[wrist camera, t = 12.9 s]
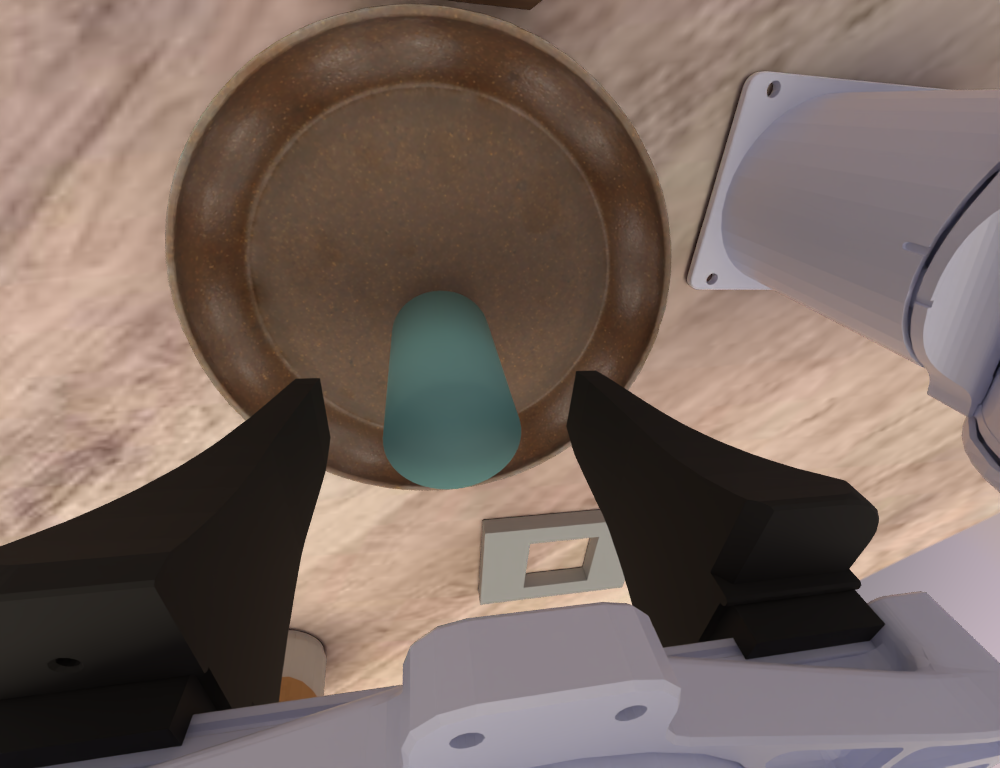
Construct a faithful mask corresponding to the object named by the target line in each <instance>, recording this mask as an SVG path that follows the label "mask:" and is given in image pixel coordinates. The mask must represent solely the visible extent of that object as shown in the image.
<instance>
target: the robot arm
mask: <svg viewBox="0 0 1000 768" xmlns="http://www.w3.org/2000/svg"><path fill="white" fill-rule="evenodd" d="M770 83H773V91H772V93H771V95H769V96H768V95H767V88H768V86H769V84H770ZM710 274H713V276H712V278H711V279H710V280H709V281H707V282H706V280H707V278H708V276H709V275H710ZM687 282H688V285H690V286H691V287H692V288H694V289H697V290H775V291H777V292H779V293H781V294H782V295H784V296H786V297H788V298H790V299H792V300H794V301H796V302H798V303H800V304H802V305H804V306H806V307H808V308H809V309H811V310H813V311H815V312H817V313H819V314H821V315H823V316H825V317H827V318H829V319H831V320H833V321H835V322H836V323H838V324H840V325H842V326H844V327H846V328H848V329H850V330H852V331H854V332H856V333H858V334H860V335H862V336H863V337H865V338H867V339H869V340H871V341H873V342H875V343H877V344H879V345H881V346H883V347H885V348H887V349H889V350H890V351H892V352H894V353H896V354H898V355H900V356H902V357H904V358H906V359H908V360H910V361H912V362H914V363H916V364H917V365H919V366H921V367H924V368H926V370H927V371H928V373H929V377H930V383H929V387H928V391H927V394H928V395H930V396H931V397H933V398H935V399H937V400H938V401H940V402H942V403H944V404H945V405H947V406H949V407H951V408H953V409H954V410H956V411H958V412H960V413H961V414H963V415H965V416H966V418H965V421H964V423H963V429H962V441H963V445H964V449H965V452H966V454H967V455H968V457H969V459H970V461H971V463H972V464H973V466H974V467H975V468H976V469H977V471H978V472H979V473H980V474H981V475H982V477H983V478H984V479H985V480H986V481H987V482H988V483H990V484H991V485H992V486H993V487H994V488H995V489H996V490H997V491H998V492H1000V89H977V90H949V89H939V88H929V87H919V86H909V85H899V84H889V83H879V82H869V81H859V80H849V79H839V78H829V77H819V76H810V75H800V74H790V73H780V72H770V71H762V72H755V73H754V74H752V75H750V76H749V78H748V79H747V80H746V82H745V84H744V86H743V89H742V92H741V96H740V99H739V102H738V106H737V109H736V113H735V116H734V120H733V123H732V126H731V130H730V133H729V137H728V140H727V143H726V147H725V150H724V154H723V157H722V160H721V164H720V167H719V171H718V174H717V177H716V181H715V184H714V188H713V191H712V194H711V198H710V201H709V205H708V208H707V211H706V215H705V218H704V222H703V225H702V228H701V232H700V235H699V239H698V242H697V245H696V249H695V252H694V256H693V259H692V262H691V266H690V269H689V273H688V276H687ZM566 427H567V431H568V434H569V438H570V441H571V445H572V448H573V451H574V454H575V456H576V459H577V461H578V463H579V465H580V468H581V470H582V472H583V474H584V476H585V478H586V480H587V483H588V485H589V487H590V489H591V491H592V493H593V495H594V497H595V500H596V502H597V504H598V506H599V508H600V510H601V512H602V514H603V517H604V519H605V522H606V524H607V527H608V529H609V532H610V535H611V538H612V541H613V544H614V547H615V550H616V553H617V556H618V559H619V562H620V565H621V568H622V572H623V575H624V578H625V581H626V584H627V588H628V591H629V595H630V598H631V602H632V605H633V606H632V605H630V604H627V603H609V602H599V603H591V604H583V605H574V606H566V607H558V608H549V609H541V610H533V611H525V612H516V613H508V614H500V615H491V616H483V617H475V618H467V619H463V620H459V621H456V622H452V623H448V624H445V625H441V626H437V627H436V628H434V629H433V630H431V631H430V632H428V633H427V634H425V635H424V636H423V637H421V638H420V639H418V640H417V641H416V642H414V643H413V644H412V645H411V646H410V649H409V651H408V653H407V656H406V658H405V661H404V663H403V685H397V686H390V687H383V688H376V689H369V690H362V691H355V692H348V693H341V694H334V695H327V696H320V697H313V698H306V699H299V700H292V701H285V702H279V698H280V690H281V681H282V673H283V666H284V659H285V652H286V645H287V638H288V631H289V625H290V618H291V612H292V606H293V600H294V594H295V588H296V582H297V577H298V571H299V566H300V560H301V555H302V551H303V547H304V543H305V539H306V536H307V532H308V529H309V525H310V522H311V519H312V515H313V512H314V509H315V505H316V502H317V499H318V495H319V492H320V489H321V485H322V482H323V478H324V475H325V471H326V466H327V460H328V453H329V446H330V439H331V437H330V432H329V426H328V420H327V415H326V409H325V404H324V398H323V392H322V387H321V381H320V378H300V379H295V380H294V381H292V382H291V383H290V384H289V385H287V386H286V387H285V388H284V389H283V390H282V391H280V392H279V393H278V394H277V395H276V396H275V397H274V398H272V399H271V400H270V401H269V402H268V403H267V404H265V405H264V406H263V407H262V408H261V409H259V410H258V411H257V412H256V413H255V414H254V415H252V416H251V417H250V418H249V419H247V420H246V421H245V422H243V423H242V424H241V425H239V426H238V427H237V428H236V429H234V430H233V431H232V432H230V433H229V434H228V435H226V436H225V437H224V438H222V439H221V440H220V441H218V442H217V443H215V444H214V445H212V446H211V447H209V448H208V449H206V450H205V451H203V452H202V453H200V454H199V455H197V456H196V457H194V458H192V459H191V460H189V461H188V462H186V463H184V464H183V465H181V466H179V467H178V468H176V469H174V470H172V471H170V472H169V473H167V474H165V475H163V476H161V477H159V478H157V479H155V480H154V481H152V482H150V483H148V484H146V485H144V486H142V487H141V488H139V489H137V490H135V491H133V492H131V493H129V494H127V495H125V496H122V497H120V498H118V499H116V500H114V501H112V502H110V503H108V504H105V505H103V506H101V507H99V508H96V509H94V510H92V511H90V512H87V513H85V514H83V515H80V516H78V517H76V518H73V519H71V520H68V521H66V522H64V523H61V524H58V525H56V526H53V527H50V528H48V529H45V530H43V531H40V532H37V533H35V534H32V535H30V536H27V537H24V538H22V539H19V540H17V541H14V542H11V543H8V544H6V545H3V546H0V768H992V767H993V766H995V765H997V764H998V763H1000V663H999V662H998V661H997V660H996V659H995V658H994V657H993V656H992V655H991V654H990V653H989V652H988V651H987V650H986V649H985V648H983V647H982V646H981V645H980V644H979V643H978V642H977V641H976V640H975V639H974V638H973V637H972V636H971V635H970V634H969V633H968V632H967V631H966V630H965V629H964V628H962V626H961V625H960V624H959V623H958V622H956V621H955V620H954V619H953V618H952V617H951V616H950V615H949V614H948V613H947V612H946V611H945V610H944V609H943V608H942V607H941V606H940V605H939V604H938V603H937V602H936V601H935V600H934V599H932V597H931V596H929V595H928V594H927V593H926V592H921V591H920V592H911V593H905V594H897V595H889V596H883V597H879V598H876V599H874V600H872V601H870V602H869V603H866V602H865V601H864V600H863V598H861V596H860V595H859V594H858V593H857V592H856V591H855V590H856V589H859V588H860V586H861V582H860V580H859V579H858V578H857V577H856V576H855V575H854V574H853V573H852V572H851V570H850V569H849V568H850V567H851V566H852V564H853V563H854V562H855V561H856V559H857V558H858V557H859V555H860V554H861V553H862V551H863V550H864V549H865V548H866V546H867V545H868V544H869V542H870V541H871V539H872V538H873V536H874V534H875V533H876V530H877V526H878V523H879V516H878V511H877V509H876V508H875V507H874V506H873V505H872V504H871V503H870V502H869V501H868V500H867V499H866V498H864V497H863V496H862V495H861V494H860V493H859V492H858V491H857V490H856V489H854V488H853V487H852V486H851V485H850V484H849V483H848V482H846V481H845V480H841V479H837V478H833V477H829V476H825V475H821V474H817V473H813V472H809V471H805V470H801V469H797V468H794V467H790V466H787V465H784V464H781V463H777V462H774V461H771V460H768V459H765V458H762V457H759V456H756V455H753V454H750V453H748V452H745V451H742V450H740V449H737V448H735V447H732V446H730V445H727V444H725V443H722V442H720V441H718V440H715V439H713V438H711V437H709V436H707V435H704V434H702V433H700V432H698V431H696V430H694V429H692V428H690V427H688V426H686V425H684V424H682V423H680V422H678V421H677V420H675V419H673V418H671V417H670V416H668V415H666V414H664V413H663V412H661V411H659V410H658V409H656V408H654V407H653V406H651V405H650V404H648V403H646V402H645V401H643V400H642V399H640V398H639V397H637V396H635V395H634V394H632V393H631V392H629V391H628V390H626V389H625V388H623V387H622V386H620V385H619V384H617V383H616V382H614V381H613V380H611V379H610V378H608V377H607V376H605V375H603V374H602V373H600V372H598V371H596V370H593V371H576V375H575V380H574V386H573V391H572V397H571V403H570V408H569V414H568V419H567V425H566Z"/></svg>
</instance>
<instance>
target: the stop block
mask: <svg viewBox="0 0 1000 768" xmlns="http://www.w3.org/2000/svg"><path fill="white" fill-rule="evenodd" d="M450 1H458V2H467V3H475V4H484V5H493V6H501V7H510V8H519V9H527V10H530V9H532V8H533V7H534V6H536V5H537V4H538V3H539V2H541V1H542V0H450Z"/></svg>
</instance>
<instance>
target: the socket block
mask: <svg viewBox="0 0 1000 768" xmlns="http://www.w3.org/2000/svg"><path fill="white" fill-rule="evenodd" d="M583 538H590V540H589V544H588V548H587V552H586V556H585V559H584V563H583V567H581V568H572V569H563V570H554V571H546V572H537V573H528V574H526V568H527V561H528V554H529V548H530V544H533V543H543V542H553V541H563V540H573V539H583ZM624 581H625V578H624V575H623V572H622V568H621V565H620V562H619V559H618V556H617V553H616V550H615V547H614V544H613V541H612V538H611V535H610V532H609V529H608V527H607V524H606V522H605V519H604V517H603V514H602V512H601V510H590V511H579V512H568V513H557V514H545V515H534V516H523V517H512V518H501V519H490V520H483V524H482V540H481V556H480V572H479V588H478V592H479V599H480V605H482V604H490V603H498V602H506V601H515V600H523V599H531V598H539V597H547V596H555V595H563V594H571V593H579V592H588V591H596V590H604V589H612V588H620V587H622V586H623V583H624Z"/></svg>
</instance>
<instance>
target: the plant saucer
mask: <svg viewBox="0 0 1000 768" xmlns="http://www.w3.org/2000/svg"><path fill="white" fill-rule="evenodd" d="M165 247H166V264H167V272H168V280H169V286H170V290H171V293H172V299H173V302H174V305H175V309H176V312H177V315H178V318H179V321H180V324H181V327H182V330H183V332H184V333H185V335H186V337H187V339H188V341H189V344H190V346H191V348H192V350H193V352H194V354H195V356H196V358H197V360H198V361H199V363H200V365H201V367H202V368H203V370H204V371H205V373H206V374H207V376H208V377H209V379H210V380H211V382H212V383H213V385H214V386H215V387H216V389H217V390H218V391H219V392H220V393H221V395H222V396H223V397H224V398H225V400H226V401H227V402H228V403H229V405H230V406H232V407H233V408H234V409H235V410H236V411H237V412H238V413H239V414H240V415H241V416H242V417H243V418H244V419H245V420H247V419H249V418H250V417H251V416H252V415H254V414H255V413H256V412H257V411H258V410H259V409H261V408H262V407H263V406H264V405H265V404H267V403H268V402H269V401H270V400H271V399H272V398H274V397H275V396H276V395H277V394H278V393H279V392H280V391H282V390H283V389H284V388H285V387H286V386H287V385H289V384H290V383H291V382H292V381H294V380H295V379H300V378H320V381H321V387H322V392H323V398H324V404H325V409H326V415H327V420H328V426H329V432H330V437H331V439H330V446H329V453H328V460H327V466H326V471H327V472H329V473H332V474H335V475H337V476H340V477H343V478H347V479H350V480H353V481H358V482H361V483H365V484H371V485H375V486H380V487H386V488H392V489H402V490H450V489H435V488H429V487H425V486H422V485H419V484H416V483H414V482H412V481H410V480H408V479H406V478H405V477H403V476H402V475H401V474H399V473H398V472H397V471H396V470H395V469H394V468H393V466H392V465H391V464H390V462H389V461H388V459H387V457H386V454H385V451H384V447H383V430H384V418H385V407H386V395H387V383H388V372H389V360H390V349H391V337H392V328H393V324H394V320H395V318H396V316H397V314H398V313H399V311H400V310H401V309H402V307H403V306H404V305H405V304H406V303H408V302H409V301H410V300H412V299H413V298H415V297H417V296H419V295H421V294H424V293H427V292H432V291H450V292H455V293H458V294H461V295H463V296H465V297H467V298H468V299H470V300H472V301H473V302H474V303H475V304H476V305H477V306H478V307H479V308H480V309H481V311H482V312H483V314H484V316H485V318H486V320H487V323H488V326H489V329H490V332H491V335H492V338H493V341H494V344H495V347H496V350H497V353H498V356H499V359H500V362H501V365H502V368H503V371H504V374H505V377H506V380H507V383H508V386H509V389H510V392H511V395H512V398H513V401H514V404H515V407H516V410H517V413H518V416H519V419H520V424H521V439H520V443H519V446H518V449H517V451H516V453H515V455H514V456H513V458H512V459H511V461H510V462H509V463H508V464H507V465H506V466H505V467H504V468H503V469H502V470H501V471H500V472H498V473H497V474H496V475H494V476H493V477H491V478H489V479H487V480H485V481H483V482H481V483H478V484H475V485H472V486H477V485H481V484H486V483H490V482H494V481H498V480H501V479H505V478H508V477H511V476H514V475H516V474H519V473H521V472H524V471H526V470H528V469H531V468H533V467H535V466H537V465H539V464H541V463H543V462H545V461H547V460H548V459H550V458H552V457H554V456H556V455H558V454H559V453H561V452H562V451H564V450H566V449H567V448H568V447H570V446H571V441H570V438H569V434H568V431H567V427H566V425H567V419H568V414H569V408H570V403H571V397H572V391H573V386H574V380H575V375H576V371H593V370H596V371H598V372H600V373H602V374H603V375H605V376H607V377H608V378H610V379H611V380H613V381H614V382H616V383H617V384H619V385H620V386H622V387H623V388H625V389H626V390H628V389H629V388H630V387H631V385H632V383H633V382H634V381H635V379H636V378H637V376H638V374H639V373H640V371H641V369H642V367H643V366H644V363H645V361H646V359H647V357H648V355H649V353H650V351H651V349H652V346H653V344H654V342H655V339H656V337H657V334H658V331H659V327H660V324H661V321H662V318H663V314H664V311H665V308H666V303H667V296H668V290H669V283H670V273H671V240H670V230H669V222H668V215H667V210H666V205H665V200H664V196H663V192H662V189H661V186H660V184H659V180H658V176H657V173H656V171H655V169H654V166H653V164H652V162H651V159H650V157H649V155H648V153H647V151H646V149H645V147H644V145H643V143H642V141H641V139H640V137H639V135H638V133H637V132H636V130H635V128H634V127H633V125H632V124H631V122H630V121H629V119H628V118H627V116H626V115H625V113H624V112H623V111H622V110H621V108H620V107H619V106H618V104H617V103H616V102H615V101H614V100H613V98H612V97H611V96H610V95H609V94H608V93H607V91H606V90H605V89H604V88H603V87H602V86H601V84H600V83H599V82H598V81H597V80H595V79H594V78H593V77H592V76H591V75H590V74H589V73H588V72H587V71H586V70H585V69H584V68H582V67H581V66H580V65H579V64H578V63H577V62H575V61H574V60H573V59H571V58H570V57H569V56H567V55H566V54H564V53H563V52H562V51H560V50H559V49H557V48H556V47H554V46H553V45H551V44H550V43H548V42H547V41H545V40H544V39H542V38H540V37H538V36H536V35H534V34H532V33H531V32H528V31H526V30H524V29H521V28H519V27H518V26H516V25H514V24H512V23H509V22H507V21H504V20H501V19H498V18H495V17H492V16H489V15H486V14H480V13H475V12H472V11H469V10H464V9H458V8H452V7H446V6H440V5H428V4H395V5H385V6H375V7H369V8H363V9H359V10H355V11H351V12H347V13H343V14H339V15H336V16H332V17H329V18H326V19H323V20H320V21H317V22H315V23H312V24H310V25H308V26H305V27H303V28H301V29H299V30H297V31H295V32H293V33H291V34H289V35H287V36H286V37H284V38H282V39H281V40H279V41H277V42H275V43H274V44H272V45H271V46H270V47H268V48H267V49H265V50H264V51H262V52H261V53H259V54H257V55H256V56H255V57H253V58H252V59H251V60H250V61H249V62H248V63H247V64H246V65H245V66H243V67H242V68H241V69H240V70H239V71H238V72H237V73H236V74H235V75H234V76H233V77H232V78H231V80H230V81H229V82H228V83H227V84H226V85H225V86H224V87H223V88H222V89H221V90H220V91H219V93H218V94H217V95H216V96H215V97H214V99H213V100H212V101H211V103H210V104H209V106H208V107H207V109H206V110H205V111H204V113H203V114H202V116H201V117H200V119H199V120H198V122H197V124H196V126H195V127H194V129H193V131H192V133H191V135H190V137H189V139H188V141H187V143H186V145H185V148H184V150H183V152H182V154H181V157H180V159H179V162H178V165H177V168H176V171H175V174H174V177H173V182H172V186H171V191H170V196H169V201H168V207H167V215H166V230H165ZM472 486H469V487H472Z"/></svg>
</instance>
